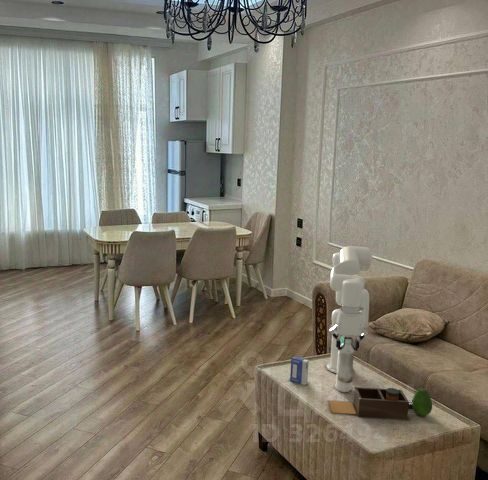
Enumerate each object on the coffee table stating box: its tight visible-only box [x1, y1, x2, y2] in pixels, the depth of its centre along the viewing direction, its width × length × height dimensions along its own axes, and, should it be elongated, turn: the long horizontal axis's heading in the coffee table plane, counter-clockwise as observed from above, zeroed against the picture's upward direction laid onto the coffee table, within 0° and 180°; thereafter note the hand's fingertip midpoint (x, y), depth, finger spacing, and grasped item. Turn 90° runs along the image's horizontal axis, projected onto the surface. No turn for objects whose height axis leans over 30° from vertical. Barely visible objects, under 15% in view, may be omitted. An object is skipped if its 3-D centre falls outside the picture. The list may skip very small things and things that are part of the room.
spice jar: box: [385, 387, 400, 400], centre depth 230 cm, size 5×5×10 cm
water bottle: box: [334, 338, 352, 393], centre depth 249 cm, size 7×7×25 cm
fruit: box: [411, 387, 433, 417], centre depth 228 cm, size 8×8×12 cm
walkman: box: [289, 355, 310, 386], centre depth 257 cm, size 8×3×12 cm, turn 54°
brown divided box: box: [352, 386, 410, 420], centre depth 231 cm, size 11×20×8 cm, turn 84°
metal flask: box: [336, 336, 356, 384], centre depth 230 cm, size 6×7×20 cm
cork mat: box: [328, 400, 357, 415], centre depth 234 cm, size 10×10×1 cm
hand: (347, 348), depth 229 cm, fingers closed on metal flask, 6 cm apart
